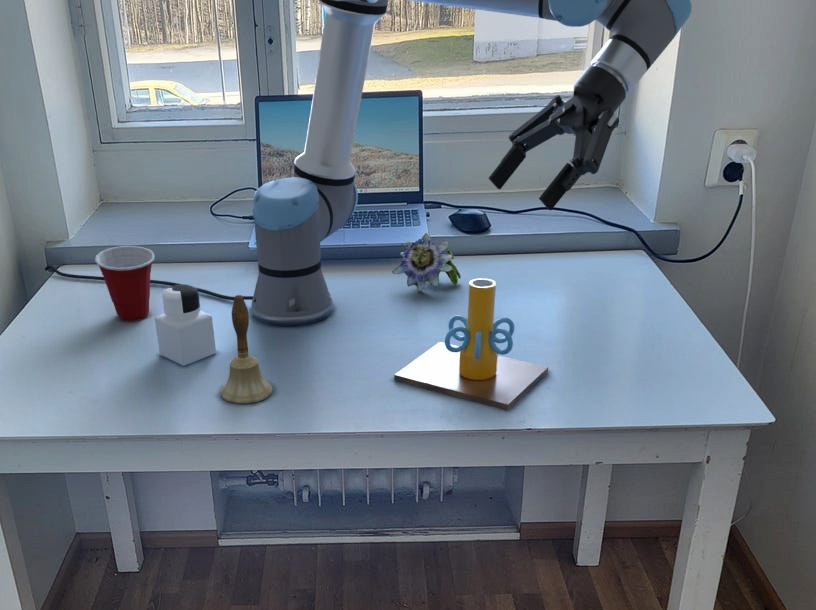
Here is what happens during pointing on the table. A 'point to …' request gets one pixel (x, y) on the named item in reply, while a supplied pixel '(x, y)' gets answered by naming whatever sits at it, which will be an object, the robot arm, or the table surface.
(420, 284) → the passion flower
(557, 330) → the table surface
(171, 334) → the medicine bottle
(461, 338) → the cylinder
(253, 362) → the hand bell
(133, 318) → the plastic cup
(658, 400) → the table surface
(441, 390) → the plate
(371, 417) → the table surface
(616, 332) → the table surface
